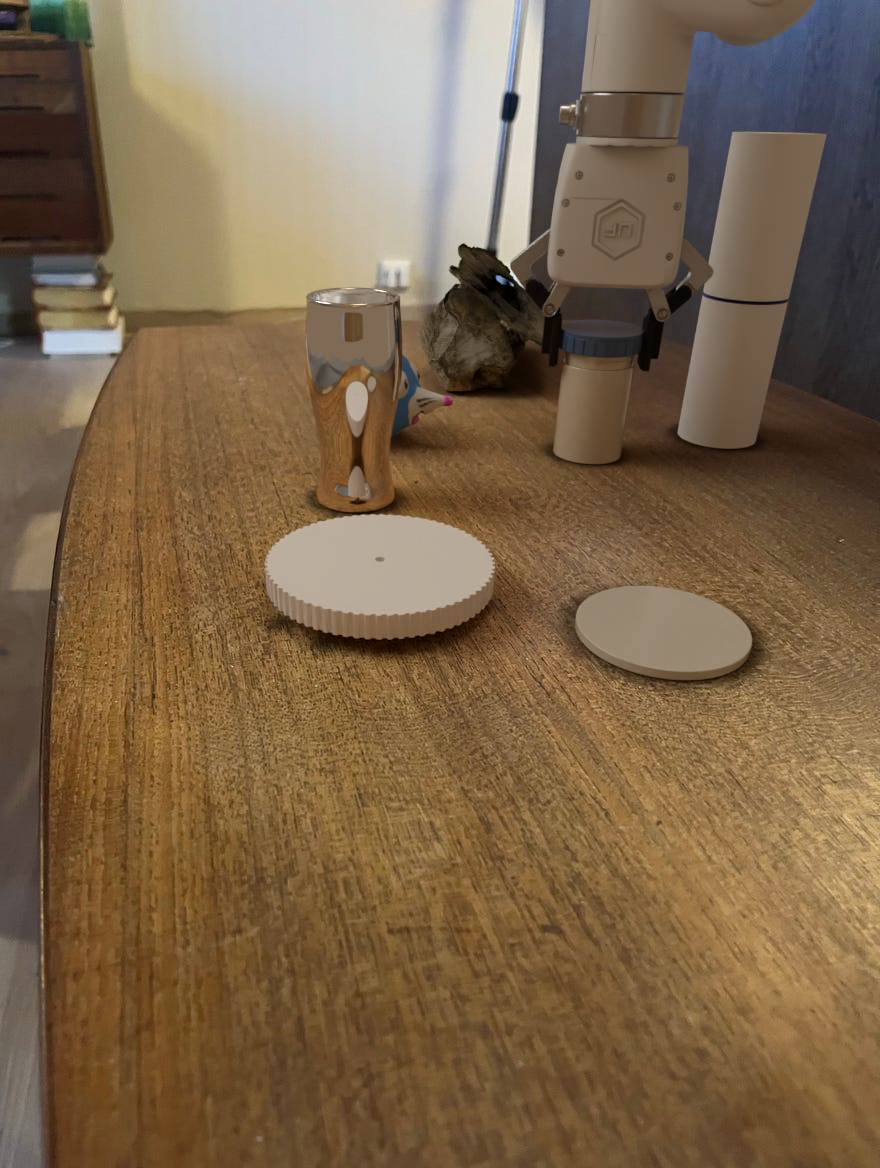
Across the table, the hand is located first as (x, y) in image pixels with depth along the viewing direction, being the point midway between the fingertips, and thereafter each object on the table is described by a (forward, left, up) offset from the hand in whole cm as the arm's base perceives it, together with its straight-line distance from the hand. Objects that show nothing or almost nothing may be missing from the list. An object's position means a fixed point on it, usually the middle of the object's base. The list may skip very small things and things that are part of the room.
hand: (597, 363), depth 75 cm
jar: (0, 0, -8) cm, 8 cm away
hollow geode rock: (+22, -21, -8) cm, 31 cm away
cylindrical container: (-8, -12, -8) cm, 16 cm away
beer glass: (+10, +21, -8) cm, 25 cm away
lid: (0, 0, +3) cm, 3 cm away
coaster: (-17, +27, -8) cm, 33 cm away
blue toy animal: (+16, +8, -8) cm, 20 cm away
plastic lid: (-1, +33, -8) cm, 34 cm away
